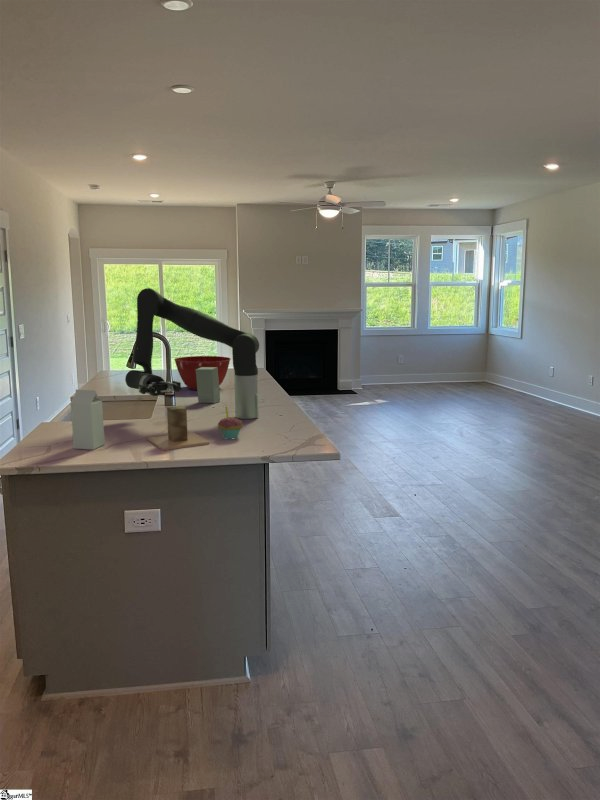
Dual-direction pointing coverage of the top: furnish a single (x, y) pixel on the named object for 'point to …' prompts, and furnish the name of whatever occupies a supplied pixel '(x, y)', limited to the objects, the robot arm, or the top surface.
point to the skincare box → (208, 385)
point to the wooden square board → (167, 444)
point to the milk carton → (87, 420)
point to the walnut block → (177, 423)
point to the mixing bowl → (192, 363)
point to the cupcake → (230, 426)
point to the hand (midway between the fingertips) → (166, 389)
